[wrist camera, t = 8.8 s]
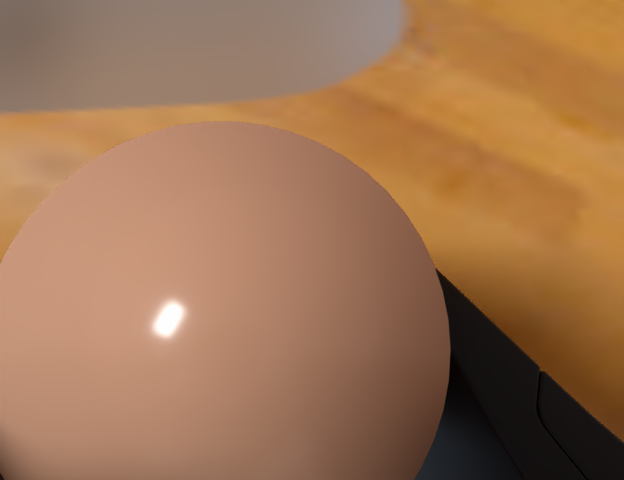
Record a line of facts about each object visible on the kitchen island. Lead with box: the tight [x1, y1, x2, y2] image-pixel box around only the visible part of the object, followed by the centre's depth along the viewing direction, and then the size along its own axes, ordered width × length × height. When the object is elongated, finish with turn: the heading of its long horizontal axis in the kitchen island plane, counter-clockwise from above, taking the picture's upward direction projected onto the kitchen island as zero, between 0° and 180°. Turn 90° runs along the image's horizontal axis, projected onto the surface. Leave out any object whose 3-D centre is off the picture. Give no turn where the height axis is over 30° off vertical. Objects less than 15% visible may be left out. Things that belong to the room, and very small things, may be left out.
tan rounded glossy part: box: [0, 122, 450, 480], centre depth 9 cm, size 5×5×10 cm
